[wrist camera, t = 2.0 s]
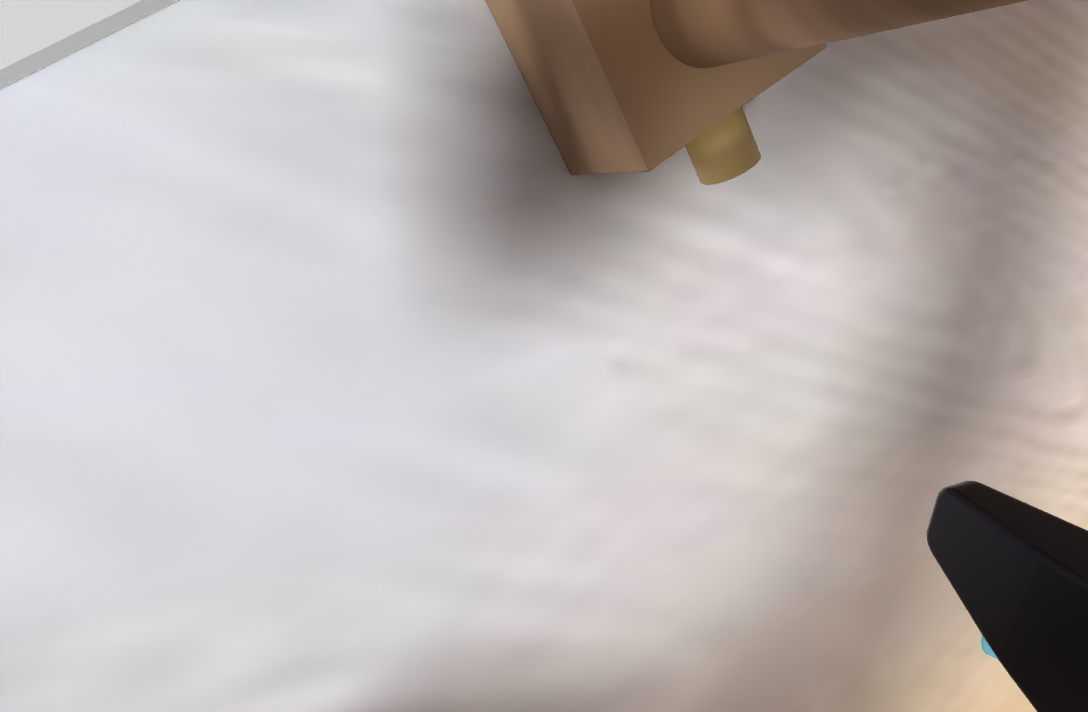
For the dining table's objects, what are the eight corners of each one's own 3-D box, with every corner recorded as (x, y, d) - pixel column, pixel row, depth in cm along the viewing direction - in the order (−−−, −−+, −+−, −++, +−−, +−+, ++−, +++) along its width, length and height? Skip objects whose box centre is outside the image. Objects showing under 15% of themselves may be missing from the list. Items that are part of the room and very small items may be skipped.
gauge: (752, 118, 24) (1337, 47, 13) (597, 228, 22) (1115, 260, 11) (662, -117, 21) (1296, -472, 10) (478, -14, 20) (996, -304, 8)
